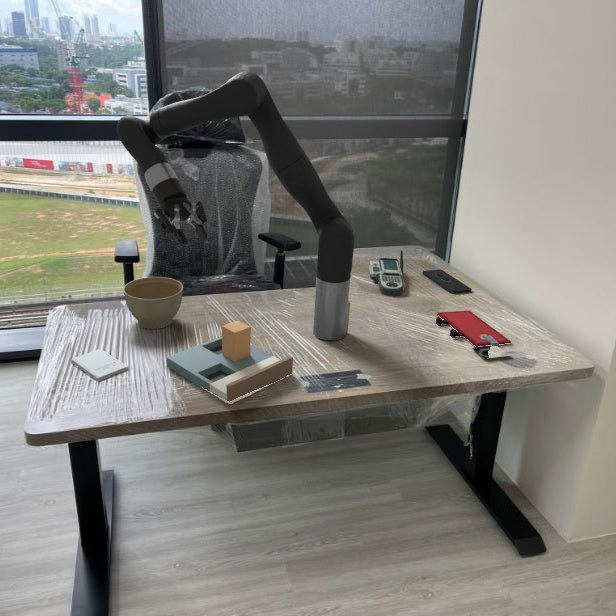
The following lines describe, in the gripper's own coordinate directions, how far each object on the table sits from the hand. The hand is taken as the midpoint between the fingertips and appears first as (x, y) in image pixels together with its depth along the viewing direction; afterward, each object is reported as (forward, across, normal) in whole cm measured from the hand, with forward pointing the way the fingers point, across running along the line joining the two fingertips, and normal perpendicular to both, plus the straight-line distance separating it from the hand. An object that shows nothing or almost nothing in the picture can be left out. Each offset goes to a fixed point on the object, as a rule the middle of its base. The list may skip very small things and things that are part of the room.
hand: (195, 241), depth 150 cm
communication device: (+25, +76, +15) cm, 81 cm away
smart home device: (+35, +92, +6) cm, 99 cm away
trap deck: (+32, -4, +8) cm, 33 cm away
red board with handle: (+55, +62, -14) cm, 83 cm away
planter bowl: (+8, -1, +33) cm, 34 cm away
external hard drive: (+16, -25, +25) cm, 39 cm away
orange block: (+29, 0, +7) cm, 30 cm away
